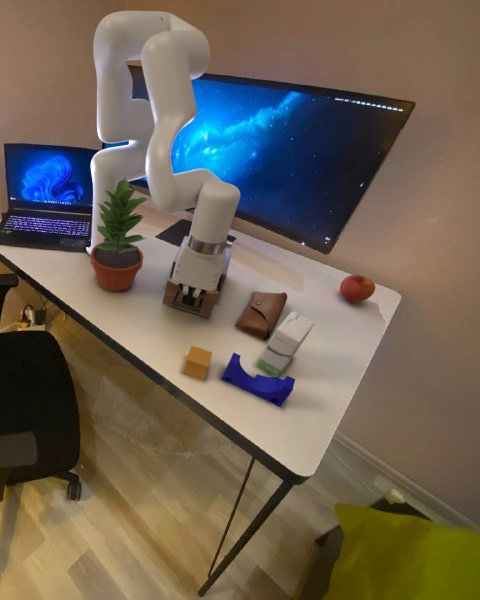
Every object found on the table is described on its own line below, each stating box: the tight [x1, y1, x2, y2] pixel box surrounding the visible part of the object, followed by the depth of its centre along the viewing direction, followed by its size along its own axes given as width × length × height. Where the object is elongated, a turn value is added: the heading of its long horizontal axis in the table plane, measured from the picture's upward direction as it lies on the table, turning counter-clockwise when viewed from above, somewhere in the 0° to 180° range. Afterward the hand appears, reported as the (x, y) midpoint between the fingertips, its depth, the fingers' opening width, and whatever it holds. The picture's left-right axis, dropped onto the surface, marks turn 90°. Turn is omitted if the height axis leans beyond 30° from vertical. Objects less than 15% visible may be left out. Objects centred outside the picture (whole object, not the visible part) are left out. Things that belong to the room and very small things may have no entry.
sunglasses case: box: [234, 291, 288, 342], centre depth 89 cm, size 18×7×7 cm
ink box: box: [256, 311, 316, 378], centre depth 75 cm, size 9×5×12 cm, turn 134°
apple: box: [339, 274, 376, 304], centre depth 93 cm, size 7×7×8 cm
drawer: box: [162, 277, 220, 319], centre depth 90 cm, size 18×12×8 cm
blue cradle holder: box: [221, 352, 296, 408], centre depth 72 cm, size 12×4×6 cm, turn 56°
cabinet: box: [168, 235, 234, 304], centre depth 98 cm, size 15×14×10 cm
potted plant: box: [90, 176, 151, 292], centre depth 91 cm, size 15×15×30 cm
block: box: [182, 345, 213, 381], centre depth 76 cm, size 4×4×4 cm
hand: (187, 305), depth 86 cm, fingers closed
